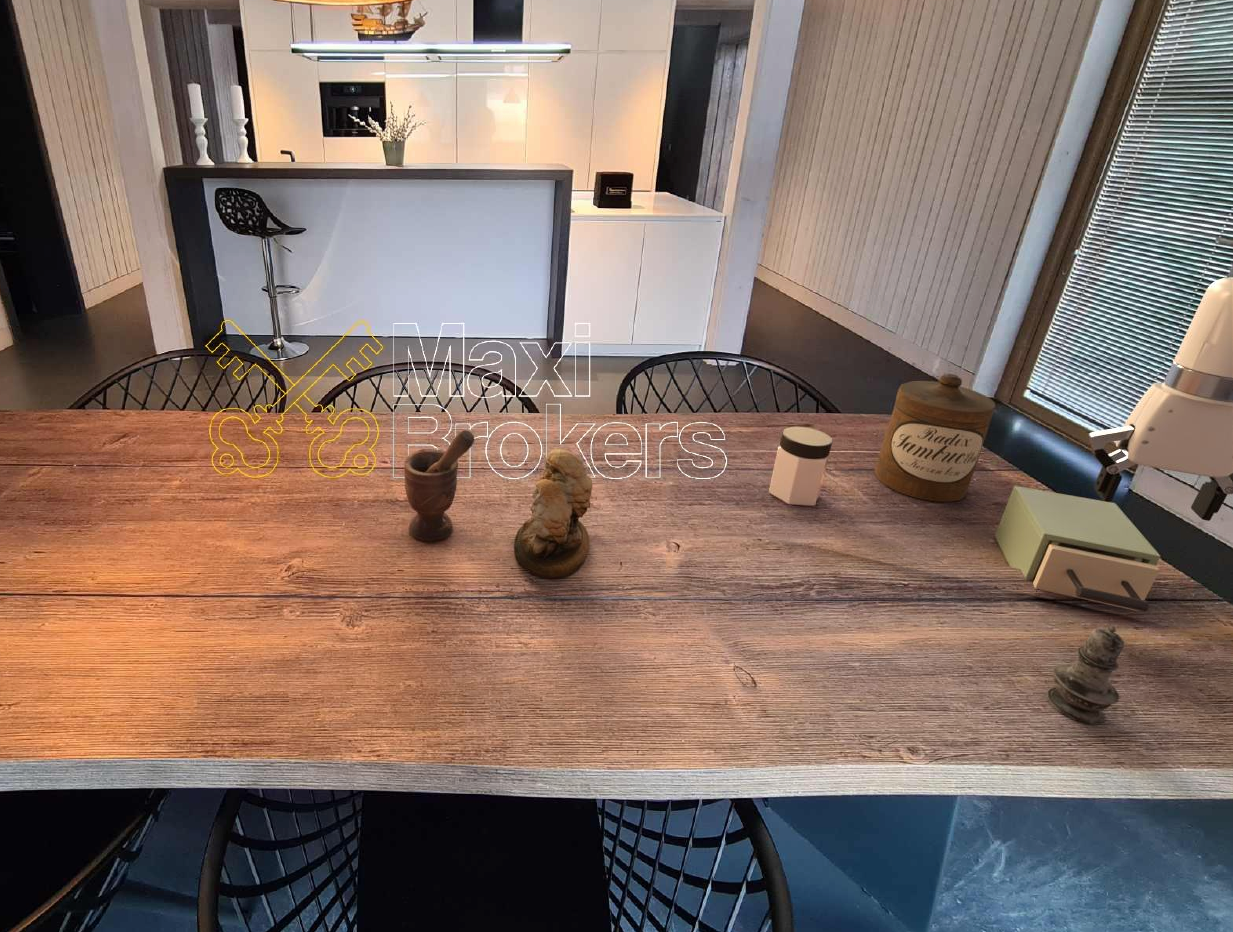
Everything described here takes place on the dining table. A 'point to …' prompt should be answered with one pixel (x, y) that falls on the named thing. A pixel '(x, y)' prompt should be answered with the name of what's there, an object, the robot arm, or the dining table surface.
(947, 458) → the wooden container
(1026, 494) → the cabinet
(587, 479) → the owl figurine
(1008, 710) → the dining table surface
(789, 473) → the jar
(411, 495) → the mortar and pestle
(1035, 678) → the dining table surface
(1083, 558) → the drawer
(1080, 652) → the chess piece
